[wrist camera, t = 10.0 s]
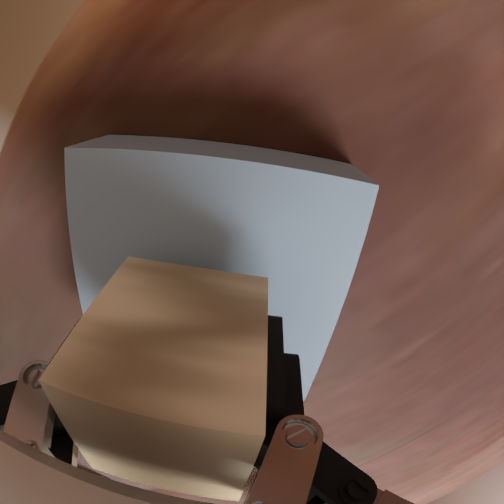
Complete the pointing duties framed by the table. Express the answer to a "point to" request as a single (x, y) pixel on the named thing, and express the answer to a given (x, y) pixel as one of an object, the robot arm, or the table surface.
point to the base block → (223, 222)
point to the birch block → (168, 378)
